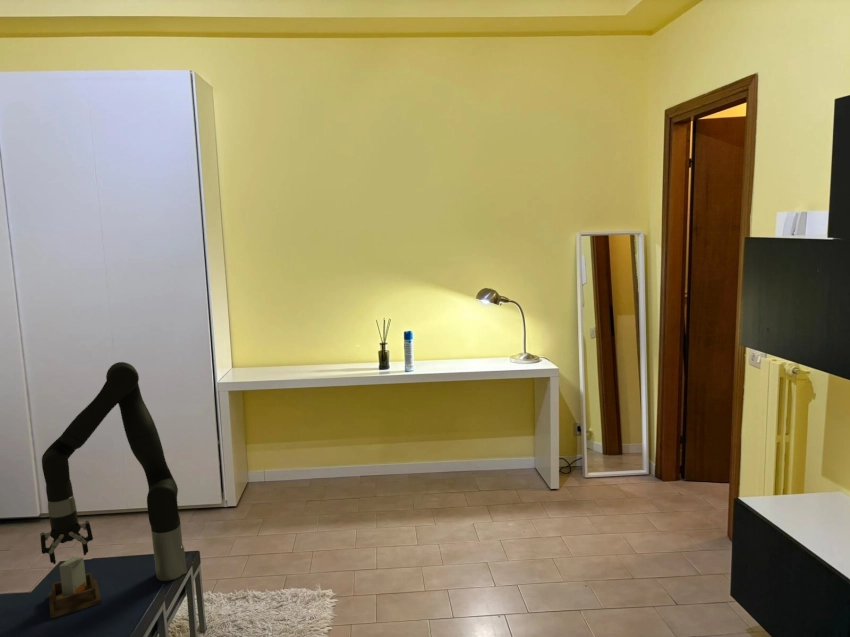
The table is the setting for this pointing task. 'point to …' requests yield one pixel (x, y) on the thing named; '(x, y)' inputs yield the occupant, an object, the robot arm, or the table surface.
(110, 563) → the table surface
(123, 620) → the table surface
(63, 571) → the skincare box
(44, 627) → the table surface
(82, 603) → the walnut stand
